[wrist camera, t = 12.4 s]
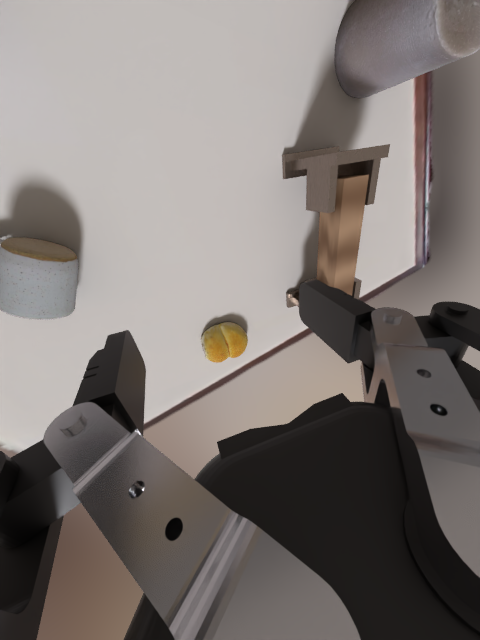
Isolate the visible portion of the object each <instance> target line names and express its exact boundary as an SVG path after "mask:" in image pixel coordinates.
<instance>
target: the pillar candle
mask: <svg viewBox="0 0 480 640" xmlns="http://www.w3.org/2000/svg"><path fill="white" fill-rule="evenodd" d="M479 49H480V0H355V1H354V2H353V4H352V5H351V6H350V8H349V9H348V11H347V12H346V14H345V16H344V18H343V20H342V22H341V25H340V28H339V30H338V35H337V39H336V45H335V68H336V74H337V77H338V80H339V83H340V85H341V87H342V89H343V90H344V91H345V92H346V93H347V94H348V95H350V96H352V97H357V98H364V97H368V96H371V95H373V94H375V93H378V92H380V91H383V90H385V89H387V88H390V87H393V86H396V85H398V84H400V83H402V82H405V81H407V80H410V79H412V78H415V77H417V76H419V75H422V74H424V73H426V72H429V71H431V70H434V69H436V68H439V67H441V66H443V65H446V64H448V63H451V62H453V61H456V60H458V59H461V58H463V57H466V56H468V55H471V54H473V53H475V52H476V51H478V50H479Z"/></svg>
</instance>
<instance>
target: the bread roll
mask: <svg viewBox="0 0 480 640" xmlns="http://www.w3.org/2000/svg"><path fill="white" fill-rule="evenodd" d="M247 341H248V339H247V334H246V332H245V331H244V330H243V329H242V328H241V327H240V326H239V325H237V324H235V323H232V322H224V323H221V324H219V325H214V326H212V327H210V328H209V329H207V330H206V331H205V332H204V334H203V336H202V338H201V342H202V347H203V351H204V354H205V357H206V358H207V359H209V360H210V361H212V362H222V361H224V360H226V359H227V358H228V357H232V358H235V357H238V356H240V355H241V354H242V353H243V352H244V351H245V349H246V346H247Z"/></svg>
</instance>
